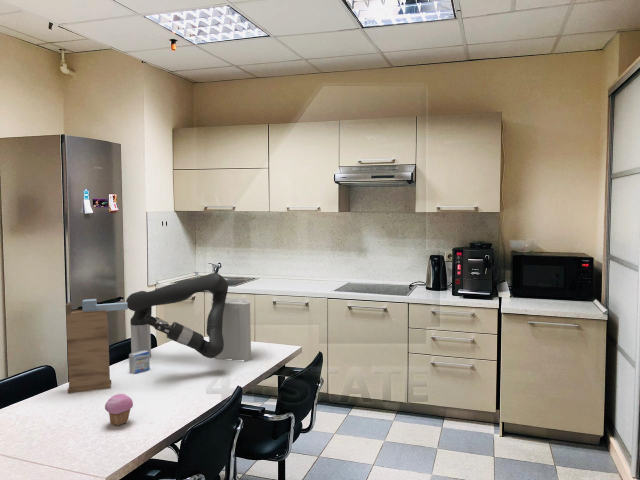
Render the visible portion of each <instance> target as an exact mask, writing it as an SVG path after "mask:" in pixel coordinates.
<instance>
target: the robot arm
mask: <svg viewBox="0 0 640 480" xmlns="http://www.w3.org/2000/svg"><path fill="white" fill-rule="evenodd" d="M228 289H229V282H228V281H227V280H226V278H225V277H224V276H222V275H221V274H219V273H216V272H213V273H212V272H211V273H208V274H205V275H202V276H199V277H197V278H194V279H190V280H185V281H181V282H176V283H170V284H168V285H165V286H161V287H159V288H156V289H154V290H149V291H146V290H139V291H136V292H134V293H133V292H132V293H131V294H129V295H128V297H127V298H126V300H125V302H127V305H128V309H129V311H131V312H134V313H133V315H132V317H130V322H129V323H130V342H131V343H130V347H131V352H130V354H132V353H135V352H139V351H143V350H146V351H149V359H151V357H152V344H151V343H152V341H151V340H152V339H151V337H152V336H151V327H153V329H155V330H156V331H159V332H161V333H163V334H166V338H167V339H169V340H171V341H174V342H176V343H177V344H180V345H183V346H186V347H188V348H191V349H193V350H195V351H196V352H197V353H199V354H200V355H202V356H203V357H204V358H207V359H213V358H214V357H216V356H217V355H219V354H220V353H221V352H222V351H223V348H224V341H223V335H222V324H223V311H224V305H225V300H227V295H228V291H229V290H228ZM201 292H209V293H211V294H212V302H213V305H212V304H211V309H210V311H209V313H208V316H207V320H206V334H207V336H208V341H207V340H206V339H205V337H204V335H202V334H201V333H199V332H197V331H195V330H193V329H191V328H190V327H187V326H185V325H183V324H181V323H179V322H177V321H173V322H172V324H169V322H168V321H166V320H164V319H162V318H160V317H157V316H156V317H154V316H153V315H152V313H153V312H152V309H153V308H152V307H154V306H163V305H168V304H169V305H170V304H176V303H181V302H184V301H186V300H188V299H189V298H190V297H192V296H193V295H194V294H197V293H201Z"/></svg>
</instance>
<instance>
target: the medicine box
mask: <svg viewBox="0 0 640 480" xmlns="http://www.w3.org/2000/svg"><path fill="white" fill-rule="evenodd" d="M150 364H151V362H150V358H149V351H146V350H143V351H139V352H135V353H129V354H128V365H129V367H128V368H129V370H128V371H129V373H131V374H134V375H136V374H140V373H142V372H146V371H150V369H151V365H150Z"/></svg>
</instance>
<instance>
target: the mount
mask: <svg viewBox="0 0 640 480" xmlns="http://www.w3.org/2000/svg"><path fill="white" fill-rule="evenodd" d="M72 306H73V303H72V301H70V302H68V301H67V303H65V320H66V324H65V325H66V327H65V328H66V345H67V369H68V370H67V371H68V372H67V374H68V387H67V394H68V395H69V394H77V393H83V392H84V393H85V392H92V391H99V390H107V389H112V379H111V374H110V373H111V372H110V349H109V346H110V344H109V342H110V341H109V316H108V312H109V311H106V310H104V311H90V312H83V309H73V307H72Z"/></svg>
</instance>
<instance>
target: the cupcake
mask: <svg viewBox="0 0 640 480" xmlns="http://www.w3.org/2000/svg"><path fill="white" fill-rule="evenodd" d="M133 402H134V401H133V398H131V397H130V396H128V395H127V394H125V393H117V394H113V395H112V396H111V397H109V399H107V401H106V403H105V404H104V408H105V411H106V412H107V413H108V416H109V421H110V424H111V425H113V426H117V427H118V426H120V425H122V424H126V423H128V422H129V416H130V413H131V409H132V408H133V406H134V403H133Z"/></svg>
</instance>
